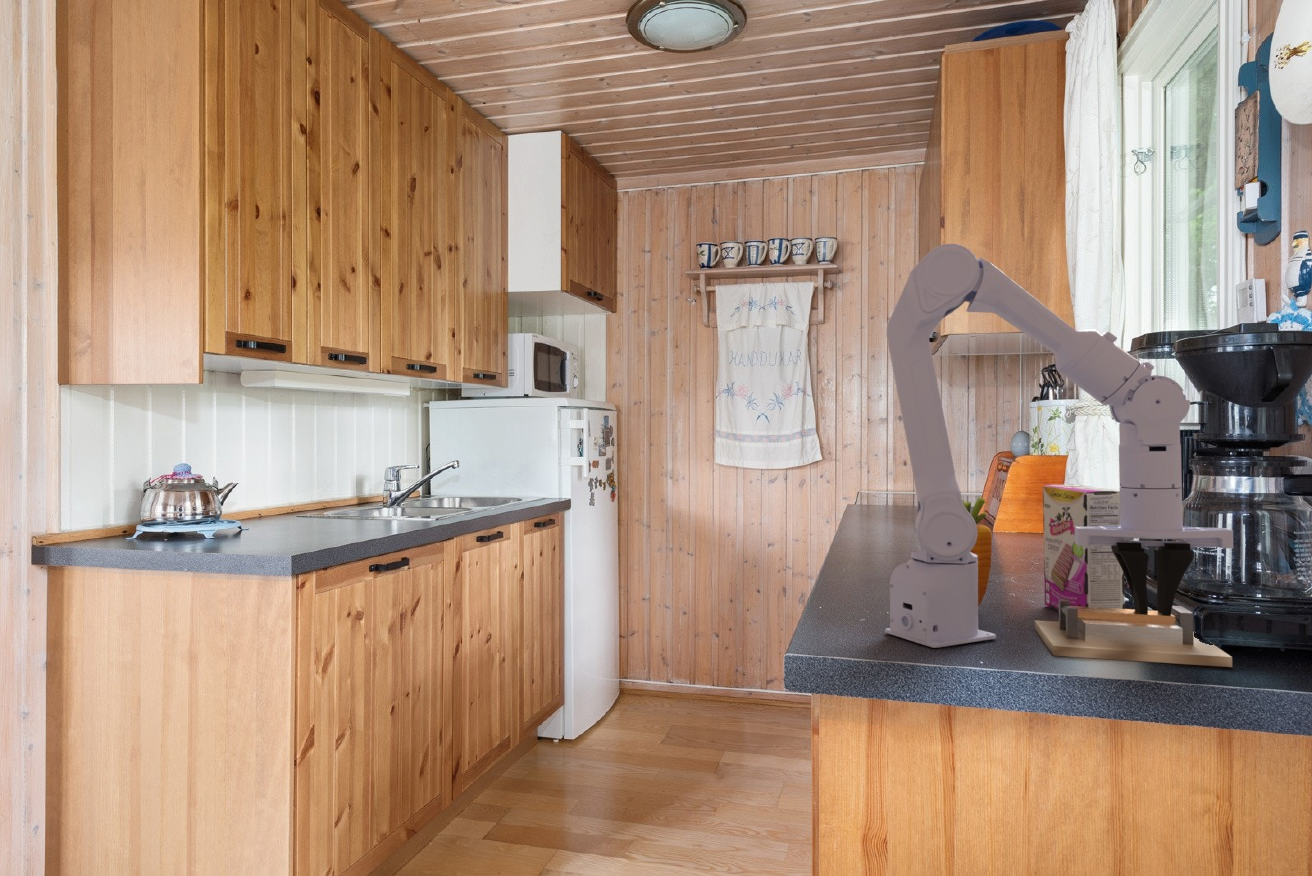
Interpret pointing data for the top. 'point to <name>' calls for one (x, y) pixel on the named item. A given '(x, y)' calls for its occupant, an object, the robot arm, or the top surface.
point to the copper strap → (1121, 615)
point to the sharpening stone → (1129, 629)
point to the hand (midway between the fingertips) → (1152, 613)
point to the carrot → (981, 547)
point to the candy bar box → (1080, 548)
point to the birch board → (1130, 649)
